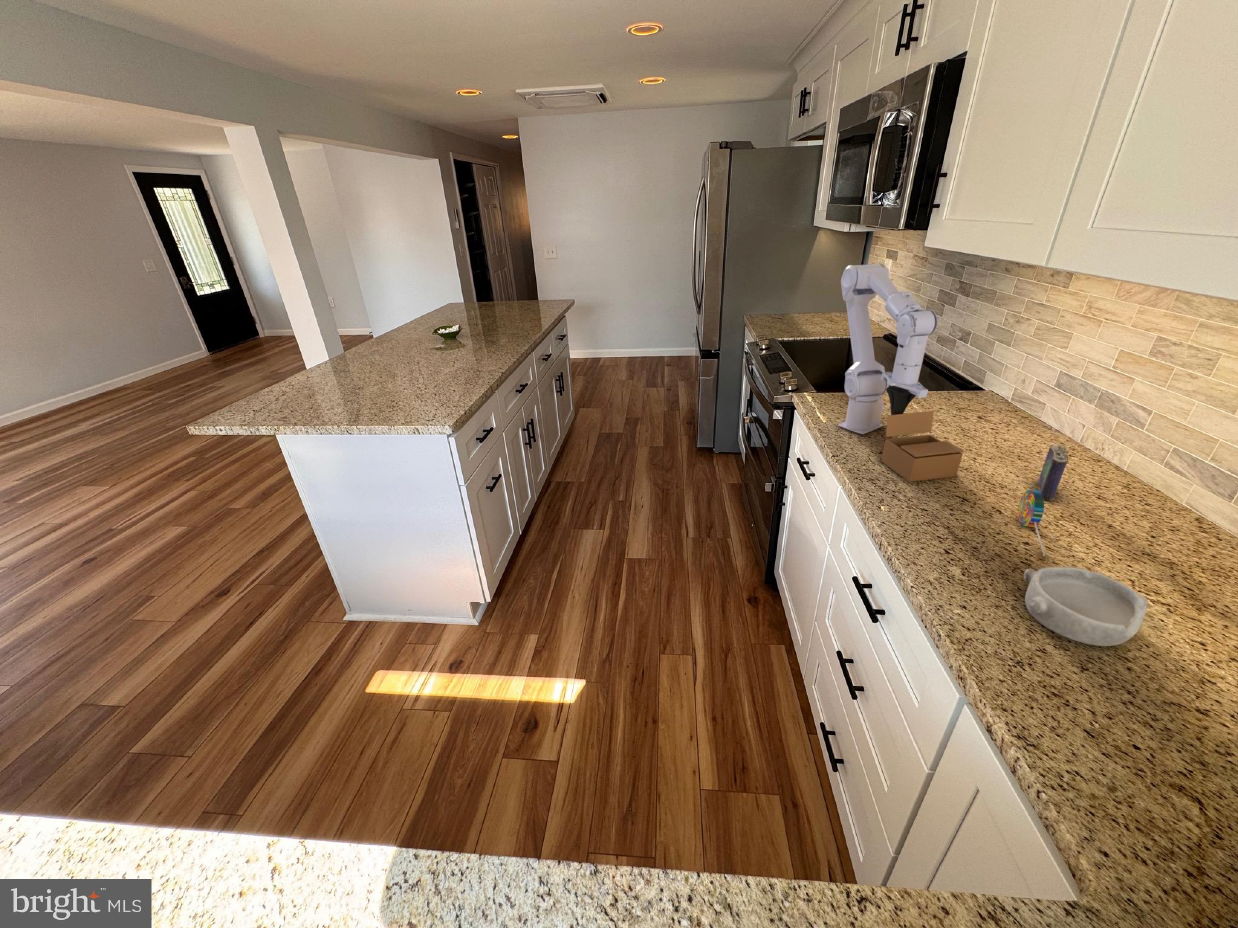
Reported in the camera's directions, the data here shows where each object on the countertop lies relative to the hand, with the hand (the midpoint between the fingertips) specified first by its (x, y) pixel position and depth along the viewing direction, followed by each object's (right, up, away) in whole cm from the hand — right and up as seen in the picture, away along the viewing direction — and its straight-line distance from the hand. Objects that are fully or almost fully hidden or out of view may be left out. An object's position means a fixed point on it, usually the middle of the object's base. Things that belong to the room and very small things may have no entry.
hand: (896, 416), depth 127 cm
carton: (+2, -13, -5) cm, 14 cm away
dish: (+1, -36, -49) cm, 60 cm away
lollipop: (+9, -26, -30) cm, 40 cm away
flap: (+1, -2, -5) cm, 5 cm away
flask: (+23, -18, -17) cm, 34 cm away
